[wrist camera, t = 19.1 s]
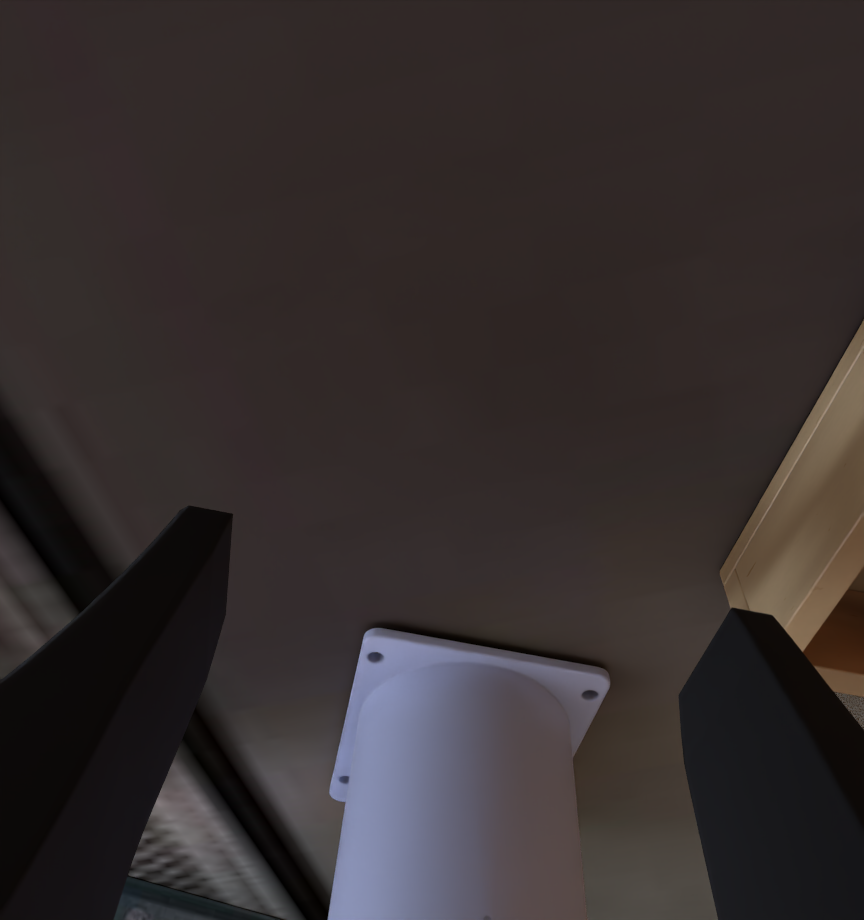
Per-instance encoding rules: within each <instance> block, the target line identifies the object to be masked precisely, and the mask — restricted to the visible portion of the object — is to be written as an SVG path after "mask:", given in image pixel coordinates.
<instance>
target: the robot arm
mask: <svg viewBox="0 0 864 920" xmlns="http://www.w3.org/2000/svg"><path fill="white" fill-rule="evenodd" d="M232 518H233V514H231V513H226V512H220V511H215V510H210V509H204V508H199V507H194V506H187V507H185V508H184V509H182V510H180V511H179V512H178V514H177V515H176V516H175V517H174V518H173V520H172V521H171V522H170V523H169V524H168V525H167V526H166V528H165V529H164V530H163V531H162V532H161V533H160V534H159V535H158V536H157V538H156V539H155V540H154V541H153V542H152V543H151V544H150V545H149V546H148V547H147V548H146V549H145V550H144V552H143V553H142V554H141V555H140V556H139V557H138V558H137V559H136V560H135V561H134V562H133V563H132V564H131V565H130V566H129V567H128V568H127V569H126V570H125V571H124V572H123V573H122V574H121V575H120V576H119V577H118V578H117V579H116V580H115V581H114V582H113V583H112V584H111V585H110V586H108V587H107V588H106V589H105V590H104V591H103V592H102V593H101V594H100V595H99V596H98V597H97V598H96V599H95V600H94V601H93V602H92V603H91V604H90V605H89V606H88V607H87V608H85V609H84V610H83V611H82V612H81V613H80V614H79V615H78V616H77V617H76V618H75V619H73V620H72V621H71V622H70V623H69V624H68V625H66V626H65V627H64V628H63V629H62V630H61V631H59V632H58V633H57V634H56V635H55V636H54V637H52V638H51V639H50V640H49V641H48V642H47V643H45V644H44V645H43V646H42V647H41V648H40V649H38V650H37V651H36V652H35V653H34V654H33V655H32V656H30V657H29V658H28V659H27V660H25V661H24V662H23V663H22V664H21V665H19V666H18V667H17V668H16V669H14V670H13V671H12V672H11V673H9V674H8V675H7V676H5V677H4V678H3V679H2V680H0V920H114V917H115V914H116V911H117V907H118V904H119V901H120V898H121V895H122V892H123V888H124V885H125V882H126V879H127V876H128V873H129V870H130V866H131V863H132V860H133V858H134V855H135V852H136V850H137V847H138V844H139V842H140V839H141V836H142V834H143V831H144V828H145V826H146V824H147V821H148V819H149V816H150V814H151V812H152V809H153V807H154V804H155V802H156V800H157V797H158V795H159V793H160V790H161V788H162V785H163V783H164V781H165V778H166V776H167V774H168V771H169V769H170V766H171V764H172V762H173V759H174V757H175V755H176V752H177V750H178V747H179V745H180V743H181V740H182V738H183V735H184V733H185V731H186V728H187V726H188V723H189V721H190V719H191V716H192V714H193V711H194V709H195V707H196V704H197V702H198V699H199V697H200V695H201V692H202V690H203V687H204V685H205V682H206V680H207V676H208V673H209V670H210V666H211V663H212V660H213V656H214V653H215V650H216V646H217V643H218V639H219V636H220V632H221V629H222V625H223V622H224V618H225V615H226V602H227V588H228V574H229V560H230V546H231V532H232ZM374 652H378V653H374ZM610 684H611V683H610V676H609V673H608V672H607V671H606V670H605V669H603V668H600V667H596V666H590V665H585V664H579V663H574V662H568V661H562V660H557V659H551V658H546V657H540V656H535V655H529V654H524V653H518V652H512V651H507V650H501V649H496V648H490V647H485V646H479V645H473V644H468V643H462V642H457V641H451V640H446V639H440V638H434V637H429V636H423V635H418V634H412V633H407V632H401V631H396V630H390V629H384V628H373V629H370V630H368V631H367V632H366V633H365V635H364V637H363V642H362V646H361V651H360V655H359V660H358V664H357V669H356V673H355V677H354V682H353V686H352V691H351V695H350V700H349V704H348V709H347V713H346V718H345V722H344V726H343V731H342V735H341V740H340V744H339V749H338V753H337V758H336V762H335V767H334V771H333V776H332V780H331V785H330V790H329V793H330V796H331V797H332V798H333V799H335V800H337V801H341V802H346V803H345V810H344V816H343V823H342V830H341V836H340V843H339V849H338V856H337V862H336V869H335V875H334V882H333V889H332V895H331V902H330V908H329V915H328V920H587V910H586V899H585V888H584V877H583V866H582V855H581V844H580V833H579V822H578V811H577V799H576V788H575V777H574V766H573V757H574V755H575V753H576V751H577V749H578V747H579V745H580V743H581V741H582V739H583V738H584V736H585V734H586V732H587V730H588V728H589V726H590V724H591V722H592V720H593V718H594V716H595V715H596V713H597V711H598V709H599V707H600V705H601V703H602V701H603V699H604V697H605V695H606V694H607V692H608V690H609V688H610ZM587 690H591V691H587ZM679 709H680V723H681V736H682V746H683V756H684V764H685V769H686V774H687V779H688V784H689V789H690V793H691V798H692V803H693V807H694V812H695V817H696V821H697V826H698V830H699V835H700V839H701V844H702V848H703V853H704V857H705V862H706V866H707V871H708V875H709V880H710V884H711V889H712V893H713V898H714V902H715V907H716V911H717V916H718V920H864V730H863V728H862V727H861V726H860V725H859V723H858V722H857V721H856V720H855V718H854V717H853V716H852V715H851V713H850V712H849V711H848V710H847V708H846V707H845V706H844V704H843V703H842V702H841V701H840V699H839V698H838V697H837V696H836V694H835V693H834V692H833V690H832V689H831V688H830V687H829V685H828V684H827V683H826V681H825V680H824V679H823V678H822V676H821V675H820V674H819V672H818V671H817V670H816V669H815V667H814V666H813V665H812V663H811V662H810V661H809V660H808V658H807V657H806V656H805V654H804V653H803V652H802V651H801V649H800V648H799V647H798V646H797V644H796V643H795V642H794V641H793V639H792V638H791V637H790V635H789V634H788V633H787V632H786V631H785V629H784V628H783V627H782V626H781V625H780V623H779V622H778V621H777V620H776V619H775V617H774V616H773V615H770V614H765V613H760V612H754V611H749V610H744V609H738V608H733V607H732V608H731V610H730V611H729V613H728V615H727V616H726V618H725V620H724V621H723V623H722V625H721V626H720V628H719V630H718V631H717V633H716V634H715V636H714V638H713V639H712V641H711V643H710V644H709V646H708V648H707V649H706V651H705V653H704V654H703V656H702V657H701V659H700V661H699V662H698V664H697V666H696V667H695V669H694V671H693V672H692V674H691V676H690V677H689V679H688V681H687V682H686V684H685V685H684V687H683V689H682V690H681V692H680V694H679Z"/></svg>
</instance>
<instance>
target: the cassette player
mask: <svg viewBox="0 0 864 920" xmlns="http://www.w3.org/2000/svg"><path fill="white" fill-rule="evenodd" d="M114 920H280V919H277V918H273V917H270V916H266V915H262V914H259V913H255V912H252V911H248V910H245V909H241V908H238V907H234V906H231V905H227V904H223V903H220V902H216V901H213V900H209V899H206V898H202V897H199V896H195V895H192V894H188V893H184V892H181V891H177V890H174V889H170V888H167V887H163V886H160V885H156V884H153V883H149V882H145V881H142V880H138V879H135V878H131V877H128V876H127V879H126V882H125V885H124V888H123V892H122V895H121V898H120V901H119V904H118V907H117V911H116V914H115V917H114Z"/></svg>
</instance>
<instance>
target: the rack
mask: <svg viewBox="0 0 864 920" xmlns="http://www.w3.org/2000/svg"><path fill="white" fill-rule="evenodd" d="M720 576H721V579H722V583H723V585H724V589H725V592H726V596H727V599H728V602H729V605H730V608H732V607H733V608H738V609H744V610H749V611H754V612H760V613H765V614H770V615H773V616H774V617H775V619H776V620H777V621H778V622H779V623H780V625H781V626H782V627H783V628H784V629H785V631H786V632H787V633H788V634H789V635H790V637H791V638H792V639H793V641H794V642H795V643H796V644H797V646H798V647H799V648H800V649H801V651H802V652H803V653H804V654H805V656H806V657H807V658H808V660H809V661H810V662H811V663H812V665H813V666H814V667H815V669H816V670H817V671H818V672H819V674H820V675H821V676H822V678H823V679H824V680H825V681H826V683H827V684H828V685H829V687H830V688H831V689H832V690H833V692H838V693H844V694H849V695H855V696H860V697H864V320H863V322H862V324H861V326H860V327H859V329H858V331H857V333H856V334H855V336H854V338H853V339H852V341H851V343H850V345H849V346H848V348H847V350H846V352H845V353H844V355H843V357H842V359H841V360H840V362H839V364H838V366H837V367H836V369H835V371H834V373H833V374H832V376H831V378H830V380H829V381H828V383H827V385H826V387H825V388H824V390H823V392H822V394H821V395H820V397H819V399H818V401H817V402H816V404H815V406H814V408H813V409H812V411H811V413H810V415H809V416H808V418H807V420H806V422H805V423H804V425H803V427H802V428H801V430H800V432H799V434H798V435H797V437H796V439H795V441H794V442H793V444H792V446H791V448H790V449H789V451H788V453H787V455H786V456H785V458H784V460H783V462H782V463H781V465H780V467H779V469H778V470H777V472H776V474H775V476H774V477H773V479H772V481H771V483H770V484H769V486H768V488H767V490H766V491H765V493H764V495H763V497H762V498H761V500H760V502H759V504H758V505H757V507H756V509H755V511H754V512H753V514H752V516H751V518H750V519H749V521H748V523H747V524H746V526H745V528H744V530H743V531H742V533H741V535H740V537H739V538H738V540H737V542H736V544H735V545H734V547H733V549H732V551H731V552H730V554H729V556H728V558H727V559H726V561H725V563H724V565H723V566H722V568H721V570H720Z"/></svg>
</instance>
